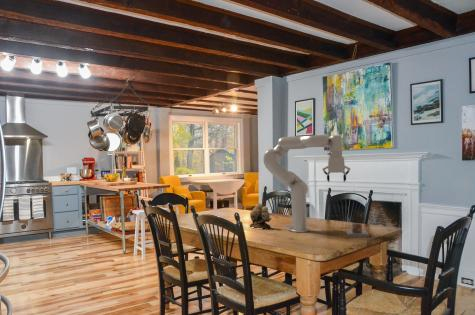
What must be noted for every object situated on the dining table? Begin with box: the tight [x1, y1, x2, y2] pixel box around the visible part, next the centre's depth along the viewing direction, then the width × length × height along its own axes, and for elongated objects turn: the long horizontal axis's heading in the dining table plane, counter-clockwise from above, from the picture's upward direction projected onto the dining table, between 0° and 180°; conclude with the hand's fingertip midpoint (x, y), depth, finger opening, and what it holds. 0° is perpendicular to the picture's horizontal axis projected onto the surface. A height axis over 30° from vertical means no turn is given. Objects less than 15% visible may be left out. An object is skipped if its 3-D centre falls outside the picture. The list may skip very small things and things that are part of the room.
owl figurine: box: [248, 203, 272, 229], centre depth 260 cm, size 18×12×17 cm, turn 49°
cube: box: [351, 222, 363, 233], centre depth 229 cm, size 5×5×5 cm
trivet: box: [345, 230, 370, 238], centre depth 228 cm, size 12×12×2 cm
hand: (336, 181), depth 238 cm, fingers open, 9 cm apart
